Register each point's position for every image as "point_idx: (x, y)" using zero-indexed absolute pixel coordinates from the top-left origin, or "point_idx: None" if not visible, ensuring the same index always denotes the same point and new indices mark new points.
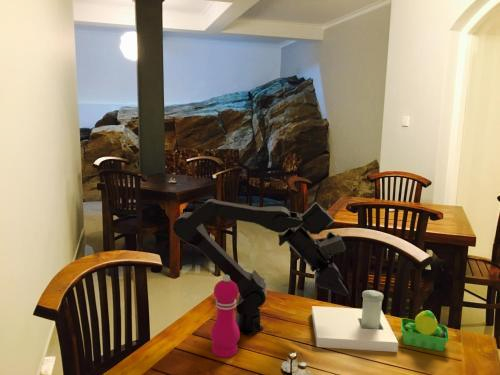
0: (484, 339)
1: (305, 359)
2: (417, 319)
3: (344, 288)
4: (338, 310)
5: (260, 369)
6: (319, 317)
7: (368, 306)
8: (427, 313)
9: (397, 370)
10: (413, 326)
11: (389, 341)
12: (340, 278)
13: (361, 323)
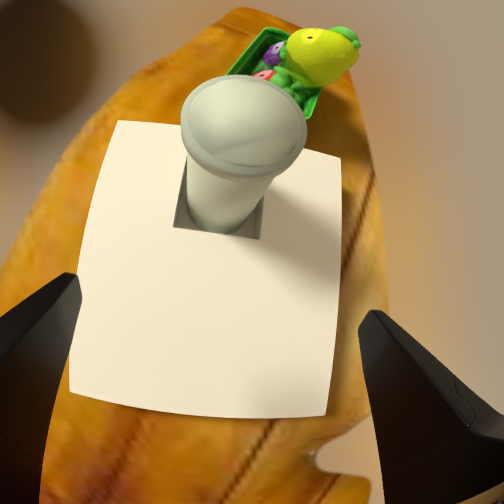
0: (240, 8)
1: (345, 427)
2: (328, 65)
3: (419, 349)
4: (100, 290)
5: (367, 497)
6: (167, 391)
7: (273, 179)
8: (353, 39)
9: (380, 205)
10: (288, 82)
11: (338, 179)
12: (68, 301)
13: (218, 226)
